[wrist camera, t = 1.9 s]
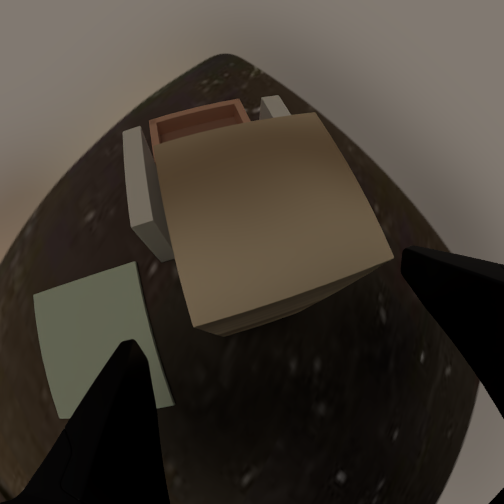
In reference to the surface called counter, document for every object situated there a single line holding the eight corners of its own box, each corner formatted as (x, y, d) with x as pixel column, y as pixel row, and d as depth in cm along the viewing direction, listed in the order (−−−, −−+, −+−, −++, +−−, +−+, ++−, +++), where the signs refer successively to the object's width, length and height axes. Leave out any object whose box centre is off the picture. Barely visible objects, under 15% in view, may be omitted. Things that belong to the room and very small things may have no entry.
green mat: (175, 404, 15) (173, 405, 15) (62, 417, 14) (59, 418, 13) (136, 263, 18) (135, 261, 18) (36, 295, 17) (33, 295, 16)
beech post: (297, 313, 17) (394, 257, 6) (224, 336, 17) (193, 327, 5) (272, 244, 19) (315, 112, 8) (202, 264, 18) (153, 145, 7)
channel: (302, 221, 20) (325, 175, 14) (161, 262, 18) (130, 227, 12) (269, 149, 22) (278, 95, 16) (146, 181, 20) (122, 131, 14)
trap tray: (256, 152, 21) (257, 136, 20) (160, 177, 20) (154, 162, 18) (238, 114, 23) (239, 98, 21) (154, 135, 22) (148, 120, 20)
